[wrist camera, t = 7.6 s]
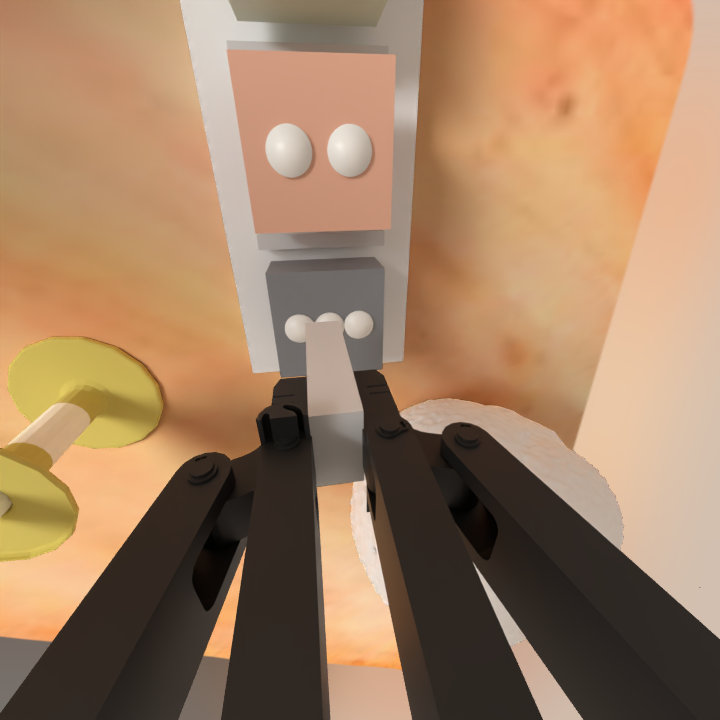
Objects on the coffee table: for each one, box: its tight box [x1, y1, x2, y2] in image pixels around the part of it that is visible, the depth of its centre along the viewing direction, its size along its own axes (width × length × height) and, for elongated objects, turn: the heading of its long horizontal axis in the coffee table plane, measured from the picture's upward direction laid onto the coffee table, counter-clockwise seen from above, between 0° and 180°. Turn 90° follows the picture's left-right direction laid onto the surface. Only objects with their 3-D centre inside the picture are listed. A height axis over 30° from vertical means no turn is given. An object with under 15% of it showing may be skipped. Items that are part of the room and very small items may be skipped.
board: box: [180, 0, 424, 373], centre depth 18 cm, size 11×26×3 cm, turn 1°
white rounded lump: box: [350, 398, 700, 647], centre depth 24 cm, size 20×18×16 cm
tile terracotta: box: [226, 49, 396, 234], centre depth 14 cm, size 6×6×3 cm
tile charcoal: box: [265, 257, 385, 378], centre depth 19 cm, size 6×6×3 cm
